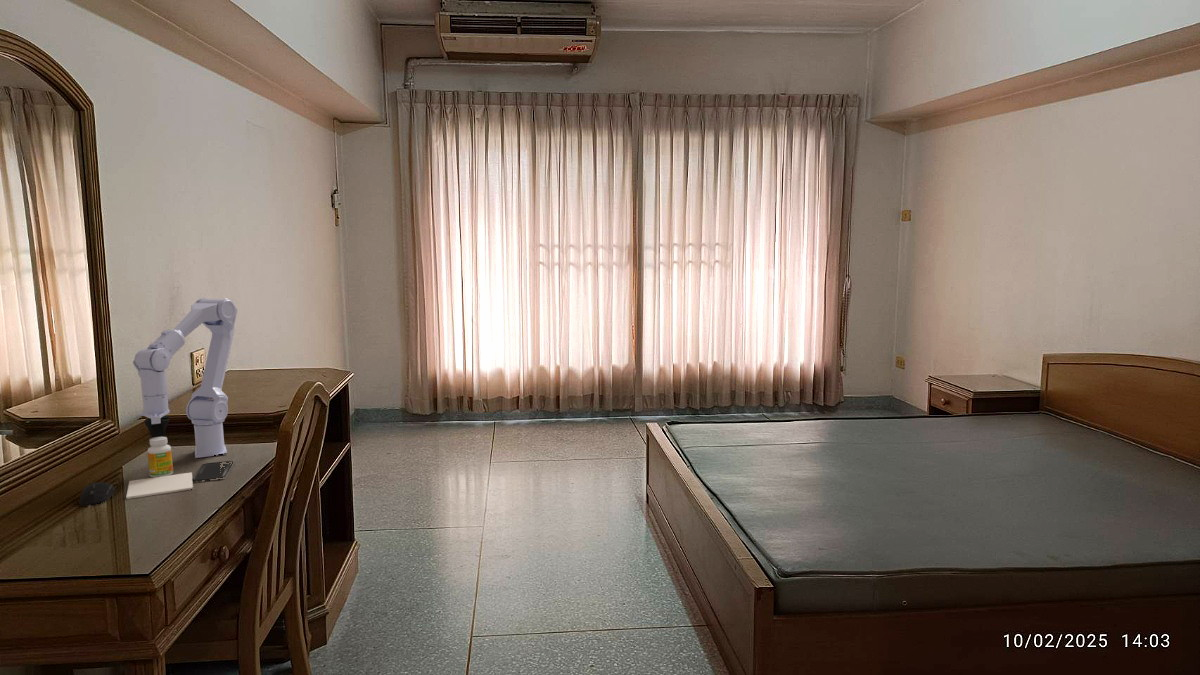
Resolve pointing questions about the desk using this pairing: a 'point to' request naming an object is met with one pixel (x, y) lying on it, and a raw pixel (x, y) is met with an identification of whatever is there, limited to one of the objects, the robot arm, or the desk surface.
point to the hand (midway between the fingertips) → (159, 445)
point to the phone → (212, 471)
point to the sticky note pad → (159, 485)
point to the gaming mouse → (96, 493)
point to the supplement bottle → (160, 457)
